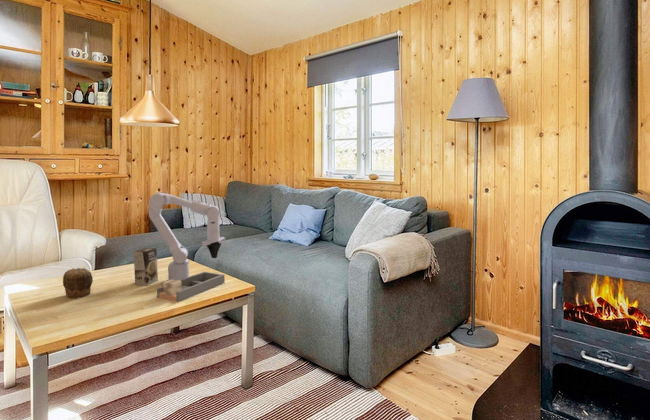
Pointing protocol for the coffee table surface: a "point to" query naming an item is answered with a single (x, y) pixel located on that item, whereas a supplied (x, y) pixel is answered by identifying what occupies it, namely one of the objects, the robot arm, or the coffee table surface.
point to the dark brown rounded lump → (77, 282)
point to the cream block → (172, 287)
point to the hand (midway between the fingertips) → (214, 257)
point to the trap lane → (193, 286)
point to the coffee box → (145, 266)
